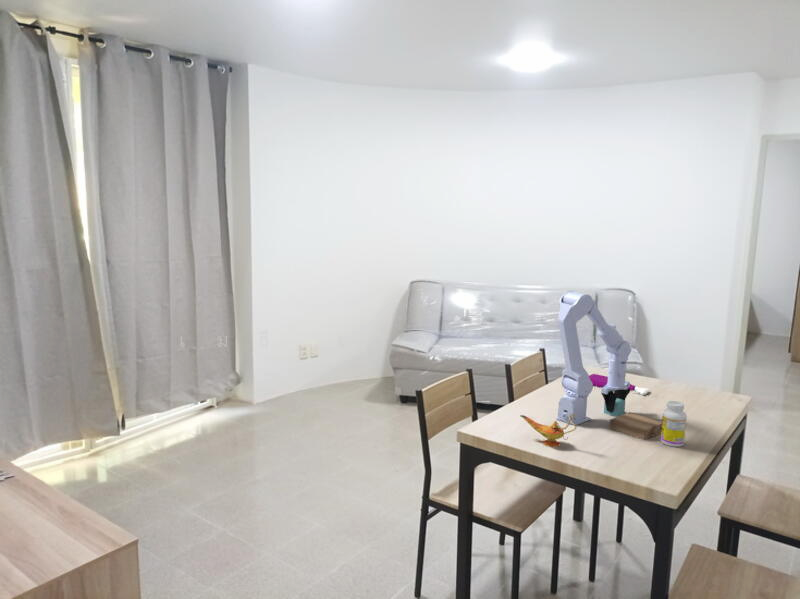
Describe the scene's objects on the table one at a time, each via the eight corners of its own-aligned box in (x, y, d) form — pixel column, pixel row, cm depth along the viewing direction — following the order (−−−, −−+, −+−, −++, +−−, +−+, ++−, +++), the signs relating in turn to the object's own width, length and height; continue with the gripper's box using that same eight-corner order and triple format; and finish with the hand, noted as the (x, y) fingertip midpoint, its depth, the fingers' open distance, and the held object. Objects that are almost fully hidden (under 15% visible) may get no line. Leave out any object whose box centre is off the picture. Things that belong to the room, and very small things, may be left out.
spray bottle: (593, 379, 244) (652, 392, 228) (582, 384, 236) (642, 399, 220) (593, 372, 244) (652, 385, 227) (582, 377, 236) (642, 391, 219)
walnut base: (643, 439, 178) (644, 430, 178) (609, 428, 187) (609, 419, 187) (663, 431, 185) (664, 422, 185) (629, 420, 195) (629, 412, 194)
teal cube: (616, 417, 198) (617, 403, 197) (603, 413, 202) (604, 399, 201) (624, 414, 201) (625, 400, 200) (611, 410, 205) (612, 396, 204)
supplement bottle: (663, 437, 180) (667, 398, 179) (686, 442, 176) (690, 403, 174) (657, 443, 175) (661, 403, 173) (681, 449, 171) (684, 408, 169)
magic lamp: (523, 432, 183) (524, 399, 182) (578, 445, 173) (580, 410, 172) (514, 438, 178) (515, 405, 176) (571, 453, 168) (573, 417, 166)
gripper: (615, 378, 192) (612, 417, 194) (638, 371, 200) (635, 408, 202) (597, 374, 197) (594, 411, 199) (620, 367, 206) (617, 403, 208)
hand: (614, 409), depth 201 cm, fingers closed on teal cube, 5 cm apart
